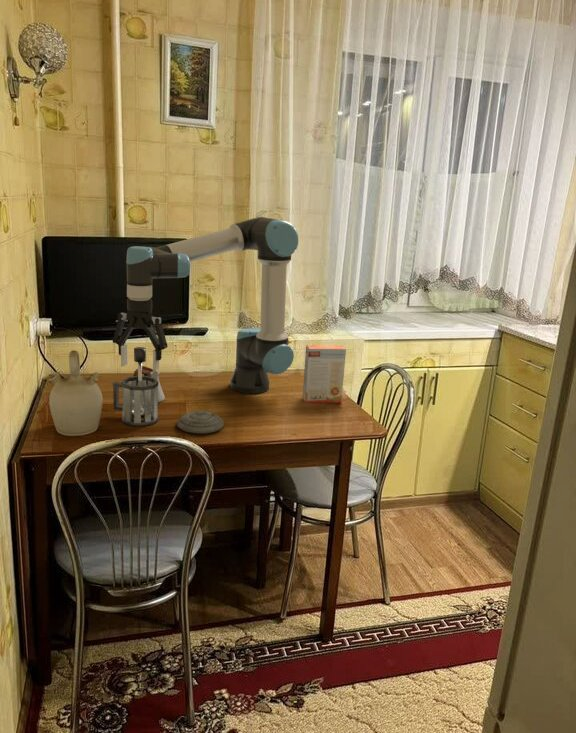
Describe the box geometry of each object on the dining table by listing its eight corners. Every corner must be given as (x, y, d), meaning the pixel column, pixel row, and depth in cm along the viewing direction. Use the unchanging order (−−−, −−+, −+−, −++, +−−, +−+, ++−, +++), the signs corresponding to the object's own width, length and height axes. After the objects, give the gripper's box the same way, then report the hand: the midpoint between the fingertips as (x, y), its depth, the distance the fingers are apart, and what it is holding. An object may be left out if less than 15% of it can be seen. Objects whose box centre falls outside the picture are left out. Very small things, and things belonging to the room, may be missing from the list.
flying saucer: (174, 419, 199) (174, 404, 197) (219, 418, 203) (219, 402, 201) (179, 438, 185) (179, 421, 183) (227, 435, 189) (228, 419, 188)
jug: (41, 436, 179) (37, 355, 172) (63, 417, 194) (59, 342, 186) (92, 441, 178) (90, 360, 171) (110, 421, 193) (108, 346, 186)
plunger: (157, 408, 198) (158, 347, 192) (146, 417, 191) (146, 353, 185) (134, 404, 200) (134, 343, 194) (121, 413, 192) (121, 350, 186)
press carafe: (164, 416, 200) (164, 378, 197) (148, 428, 190) (148, 389, 186) (123, 409, 204) (123, 372, 200) (105, 421, 193) (105, 382, 189)
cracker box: (337, 397, 230) (342, 344, 224) (341, 403, 224) (347, 349, 218) (301, 397, 227) (305, 343, 221) (304, 403, 222) (309, 348, 216)
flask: (149, 395, 219) (149, 368, 216) (168, 397, 218) (168, 371, 215) (140, 401, 212) (140, 374, 209) (160, 404, 211) (160, 377, 208)
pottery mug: (125, 384, 230) (133, 363, 232) (147, 392, 235) (155, 372, 237) (136, 385, 220) (144, 364, 222) (159, 394, 225) (167, 373, 227)
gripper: (179, 300, 186) (178, 369, 192) (112, 292, 191) (113, 359, 197) (169, 304, 179) (168, 375, 185) (99, 296, 184) (101, 365, 190)
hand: (140, 367), depth 191 cm, fingers open, 10 cm apart
